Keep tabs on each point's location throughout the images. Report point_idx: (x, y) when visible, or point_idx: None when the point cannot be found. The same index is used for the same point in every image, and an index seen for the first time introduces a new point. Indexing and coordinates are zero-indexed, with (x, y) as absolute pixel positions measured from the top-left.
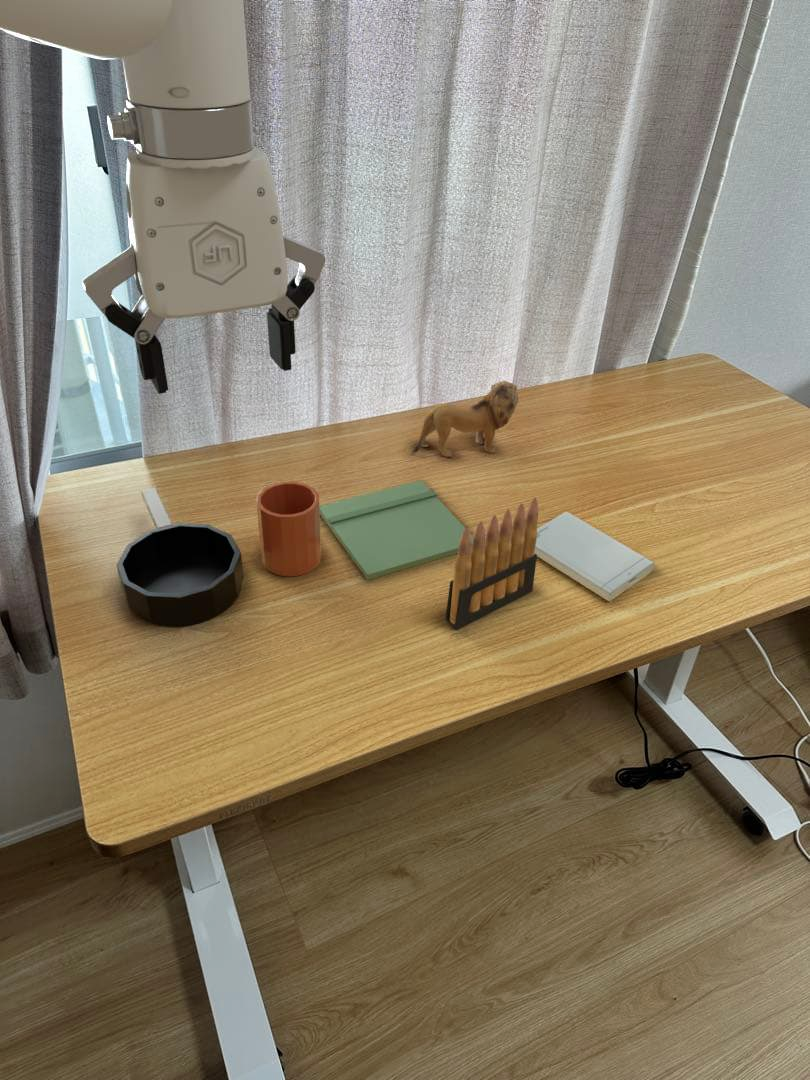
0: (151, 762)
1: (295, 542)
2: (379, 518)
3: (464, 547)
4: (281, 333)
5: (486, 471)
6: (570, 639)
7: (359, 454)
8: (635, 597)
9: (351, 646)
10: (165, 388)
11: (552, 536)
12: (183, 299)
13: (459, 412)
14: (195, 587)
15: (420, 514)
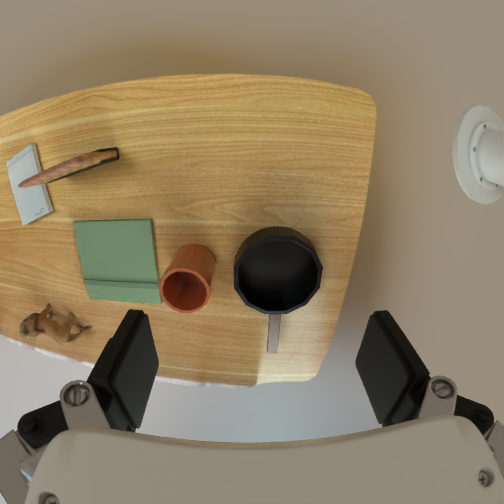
0: (342, 126)
1: (191, 256)
2: (124, 274)
3: (77, 158)
4: (117, 365)
5: (54, 289)
6: (65, 118)
7: None
8: (24, 143)
9: (187, 158)
10: (379, 314)
11: (35, 205)
12: (428, 465)
13: (52, 332)
14: (270, 259)
15: (97, 266)
